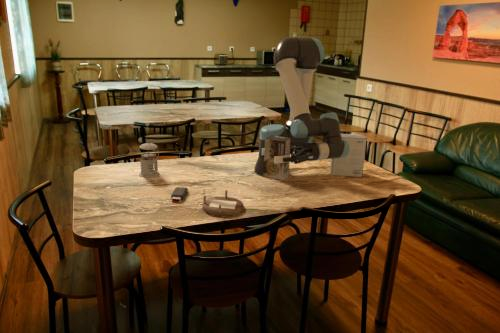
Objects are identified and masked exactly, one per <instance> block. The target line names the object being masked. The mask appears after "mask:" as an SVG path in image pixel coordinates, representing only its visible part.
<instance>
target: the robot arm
mask: <svg viewBox="0 0 500 333" xmlns="http://www.w3.org/2000/svg"><path fill="white" fill-rule="evenodd" d="M324 57H325V48H324V45H323V43H322V41H321V40H319V39H318V38H315V37H297V36H296V37H294V36H288V37H285V38H283V39H281V40H280V42H278V44H277V45H276V47H275V49H274V52H273V65H274V68H275V70H276V71H277V72H278V74H279V76H280V80H281V82H282V86H283V90H284V93H285V96H286V100H287V102H288V106H289V109H290V110H289V111H290V112H289V119H288V120H286V121H285V126H284V125H283V124H273V123H272V124H268V125H267V124H266V125H264V126H262V127H260V128H261V129H260V130H259V136H258V137H259V140H258V141H259V142H258V158H257V160H256V163H255V165H254V174H256V175H258V176H261V177H264V176H263V174H264V153H265V138H267V137H269V136H270V135H274V136H281V137H288V138H291V148H290V155H284V156H274V163H275V164H277V163H286V162H290V163H293V164H295V165H296V164H302V163H305V162H314V161H322V160H331V159H334V158H341V157H346V156H347V155H348V154H349V151H350V146H349V144H348V142H347V141H346V140H342V137H341V134H342V133H341V128H340V127H341V126H340V121H339V117H338V114H337V113H336V112H326V113H322V114H321V115H320V117H319V118H313V117H312V115H311V112H310V108H309V107H310V99H311V92H312V85H313V84H312V83H313V77H314V76H313V75H314V72H316V71H317V70H318V65H320V64H322V63H323V61H324ZM315 137H317V138H318V137H323V141H315V142H313V139H314V138H315Z"/></svg>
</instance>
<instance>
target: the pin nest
mask: <svg viewBox="0 0 500 333" xmlns="http://www.w3.org/2000/svg"><path fill="white" fill-rule="evenodd" d="M224 192H225V193H224V196H214V197H213V196H212V197H211V198H208V199H207V197H206V195H203V200H202V211H203V210H204V211H203V212H204V213H205V212H206V213H205V214H207V215H209V214H210V215H209V216H212V215H213V217H217V216H221V218H223V217H222V216H230V217H233V216H232V215H235V216H237V215H236V214H238V213H240V212H241V211H242V212H243V211H244V203H243V202H242V200H240V199H237V198H235V197H231V196H228V190H227V189H225V191H224ZM242 212H241V213H242ZM241 213H240V214H241ZM238 215H239V214H238Z"/></svg>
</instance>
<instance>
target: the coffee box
mask: <svg viewBox="0 0 500 333" xmlns="http://www.w3.org/2000/svg"><path fill="white" fill-rule="evenodd" d="M290 148H291V138H288V137H281V136H274V135H270V136H269V137H267V138H265V153H264V174H263V176H262V177H265V178H270V179H274V180H275V179H276V180H281V181H285V179H287V178H288V177H289V174H290V163H291V162H286V163H277V164H275V163H274V156H284V155H290V156H291V154H290Z"/></svg>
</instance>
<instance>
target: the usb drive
mask: <svg viewBox="0 0 500 333" xmlns="http://www.w3.org/2000/svg"><path fill="white" fill-rule="evenodd" d="M188 192H189V189H188V187H184V186H183V187H179V186H176V187H175V188H174V190H173V191H172V193H171V196H170V199H171V203H176V204H177V203H181V202H182V201H184V200H185V198H186V196H187V194H188Z"/></svg>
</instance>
